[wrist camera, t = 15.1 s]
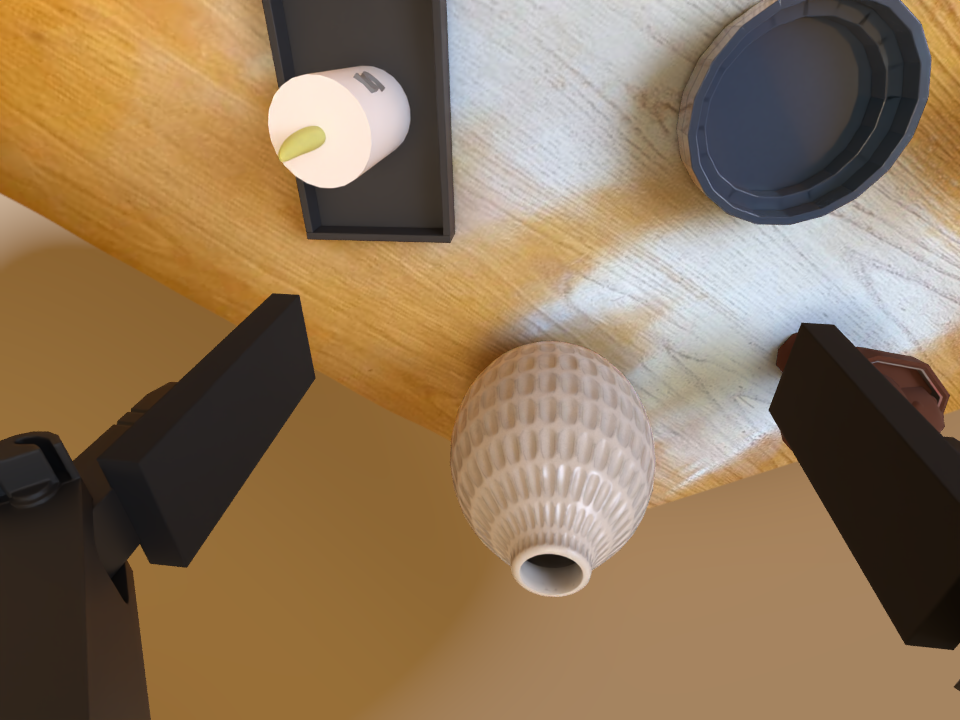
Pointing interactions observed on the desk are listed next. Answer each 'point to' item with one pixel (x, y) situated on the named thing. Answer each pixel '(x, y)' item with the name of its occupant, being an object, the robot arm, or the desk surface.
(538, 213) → the desk surface
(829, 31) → the bowl
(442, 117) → the tray
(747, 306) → the desk surface
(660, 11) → the desk surface
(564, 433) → the vase
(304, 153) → the candle
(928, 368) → the ice cream bowl
